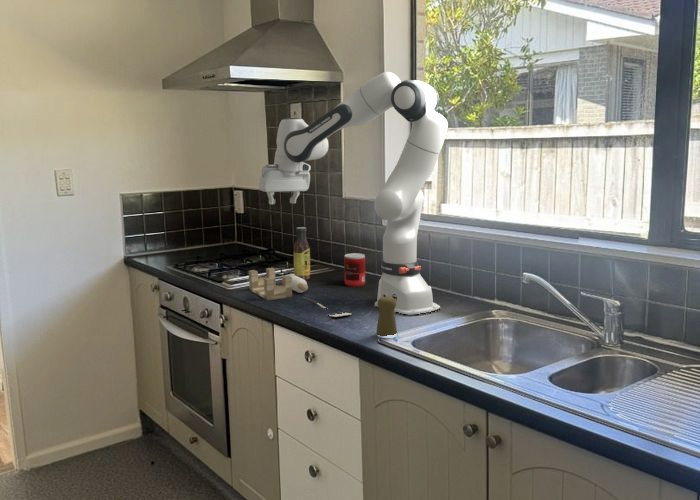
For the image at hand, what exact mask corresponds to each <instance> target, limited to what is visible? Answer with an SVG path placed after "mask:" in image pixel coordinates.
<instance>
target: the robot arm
mask: <svg viewBox="0 0 700 500" xmlns="http://www.w3.org/2000/svg"><path fill="white" fill-rule="evenodd" d="M439 96H440V95H439V93H438V90H437V89H436V88H435V87H434V86H433V85H432V84H430V83H427V82H424V81H422V80H416V79H415V80H414V79H413V80H412V79H405V80H402V81H401V80H400V78H399V77H398V76H397V75H396V74H395V73H393V72H391V71H384V72H382V73H379V74H378V75H376V76H374V77H372V78H370V79H368V81H365V82H364V83H363V84H362V85H360V86H359V87H358V88H356V89H355V90H354V91H353V92H352V93H350V94H349V95H348V96H347V97H346V98H345V99H344V100H342V102H340V103H338V105H336V106H335V107H334V108H332V109H331V110H330V111H328V112H327V113H325V114H324V115H322V116H321V117H319V118H318V119H316V120H315V121H314V122H312V123H311V124H310V125H309V124H307V122H305V120H304V119H303V118H302V117H285V118H283V119H281V121H280V122H279V125H278V129H277V134H276V135H277V136H276V150H275V154H274V162H273V164H265V165H264V166H263V167H262V169H261V174H260V178H259V183H258V189H259V190H260V192H261V191H262V192H265V193H266V194H267V195H266V196H267V198H268V204H269V205H276V198H275V199H274V195H275V193H278V192H279V193H281V192H282V193H283V192H292V193H293V194H292V197H289V203H290V204H296V203H297V199H298V197H299V196H300V192H307V191H308V190H309V188H310V182H311V173H310V171H311V168H312V167H311V165H310V164H308V163H306V161H312V160H314V161H315V160H319V159H322V158H324V157H325V156H326V155H327V153H328V151H329V147H330V145H329V139H328V138H329V137H330V136H331V135H333V134H334V133H337V131H341V130H343V129H347V128H351V127H358V126H364V125H366V124H368V123H370V122H372V121H374V120H375V119H377V118H379V117H380V116H381V115H382V114H384V113H386V112H387V111H388V110H390V109H391V108H394V110H395V111H396V112H397V113H398V114H399V115H400V116H402V117H403V118H404V119H405V120H406V121H407V122H409V123H411V129H410V132H409V135H408V137H407V139H406V142H405V144H404V145H403V148H402V151H401V154H400V156H399V158H398V160H397V162H396V165H395V166H394V168H393V170H392V171H391V174H390V175H389V176H388V178H387V180H386V181H385V183H384V185H383V187H382V189H381V191H380V192H379V193H378V194H377V196H376V197H375V199H374V203H373V205H374V210H375V214H376V215H377V216H378V217H379V218H380V219H382V220H383V221H387V222H386V227H385V230H384V233H383V236H382V260H381V265H380V268H381V272H382V273H381V276H380V279H379V280H378V289H377V298H376V299H377V301H374V307H376V306H377V307H376V308H378V304H377V303H378V300H379V298H381V297H392V298H394V299H395V300H396V307H395V309H394V311H395V312H394V313H396V312H399V313H398V314H400V313H403V314H419V315H421V314H420V313H426V312H431V311H434V310H437V309H439V308H440V309H441V306H440V305H439V304H437V303H435V302H433V301H434V300H433V290H432V286H430V285H428V283H427V282H426V281H425V279H424V278H423V277H422V275H421V267H422V266H421V265H419V260H417V254H418V253H417V250H418V248H417V247H418V243H417V242H418V231H419V229H420V228H419V226H420V222H421V215H422V208H423V205H424V202H425V196H424V192H423V191H422V188H423V187H424V185H425V184H426V182H427V181H428V179H429V178H430V177H431V175H432V172H433V169H434V167H435V166H436V163H437V160H438V159H439V156H440V153H441V151H442V148H443V145H444V142H445V139H446V136H447V132H448V127H449V125H448V120H447V118H446V117H444V116H443V115H442V114H441V113H438V112H437V111H436V110H437V108H438V106H439V103H440V97H439ZM431 313H432V312H431ZM403 314H402V315H403ZM426 314H427V313H426Z"/></svg>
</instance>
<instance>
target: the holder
mask: <svg viewBox="0 0 700 500" xmlns="http://www.w3.org/2000/svg"><path fill="white" fill-rule="evenodd" d="M265 274H266V275H265V276H261V277H259V272H258V271H257V270H255V269H252V270H248V284H249V285H248V286H249V288H248V289H249V290H250V291H251V292H253V293H255V294H256V295H257V296H259V297H261V298H263V299H265V300H266V301H273V300H281V299H288V298H293V290H292V277H290V276H287V275H282V276H281V282H282V283H281V284H280V285H279V284H278V285H277V284H276V281H277V280H276V269H275V268H273V267H268V268H265Z"/></svg>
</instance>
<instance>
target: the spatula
mask: <svg viewBox="0 0 700 500" xmlns="http://www.w3.org/2000/svg"><path fill="white" fill-rule="evenodd" d="M302 299H304V300H305V301H308V302H310V303H312V304H314V305H318V306H319V307H320V308H322V309H324V308H327V307H326V306H324V305H323V304H321V303H320V302H319V301H317V300H314V299H311V298H309V297H306V296H302ZM341 313H342V314H337V313H334V314H335V315H330V314H328V315H329V316H328V317H332V318H333V317H334V318H337V317H338V318H339V317H344V316H351V315H352V313H351V312H345V313H343V312H341Z"/></svg>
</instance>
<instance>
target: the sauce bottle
mask: <svg viewBox="0 0 700 500" xmlns="http://www.w3.org/2000/svg"><path fill="white" fill-rule="evenodd" d="M307 229H308V228H307V227H304V226H301V227H299V226H298V227H296V228H295V232H296V240H295V242H294V244H293V275H295V276H297V277H300V278H302V279H304V280H305V281H307V280H310V278H311V248H310V247H311V246H310V245H309V242H308V239H307V231H308V230H307Z"/></svg>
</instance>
